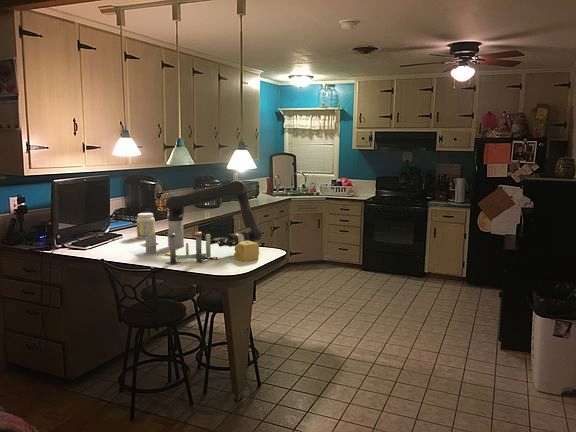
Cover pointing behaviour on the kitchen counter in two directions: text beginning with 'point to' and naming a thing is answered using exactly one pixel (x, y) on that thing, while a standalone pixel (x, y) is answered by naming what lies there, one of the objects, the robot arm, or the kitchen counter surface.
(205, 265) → the kitchen counter surface
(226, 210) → the kitchen counter surface
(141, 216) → the supplement tub
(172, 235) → the hinge post
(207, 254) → the gate
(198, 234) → the latch post
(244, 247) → the cheese
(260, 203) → the kitchen counter surface
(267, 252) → the kitchen counter surface
